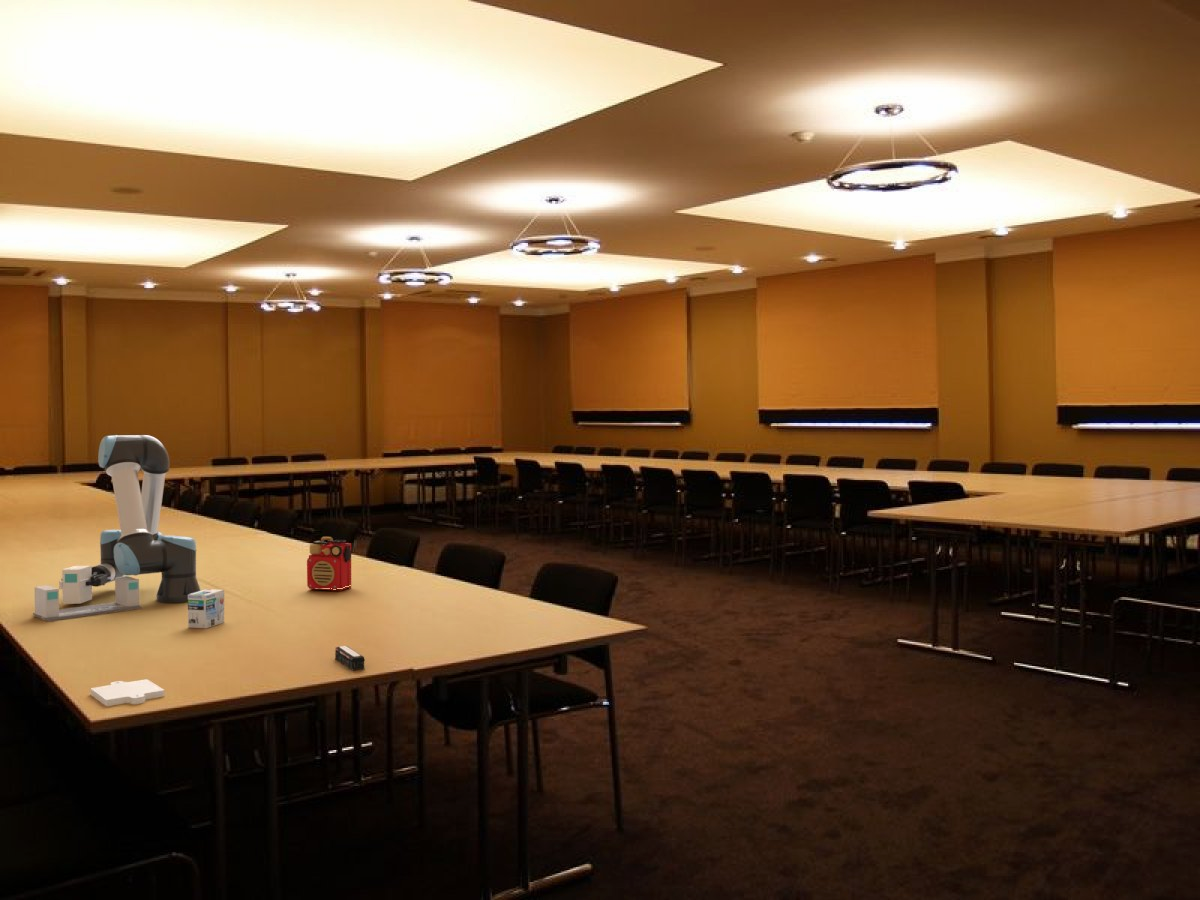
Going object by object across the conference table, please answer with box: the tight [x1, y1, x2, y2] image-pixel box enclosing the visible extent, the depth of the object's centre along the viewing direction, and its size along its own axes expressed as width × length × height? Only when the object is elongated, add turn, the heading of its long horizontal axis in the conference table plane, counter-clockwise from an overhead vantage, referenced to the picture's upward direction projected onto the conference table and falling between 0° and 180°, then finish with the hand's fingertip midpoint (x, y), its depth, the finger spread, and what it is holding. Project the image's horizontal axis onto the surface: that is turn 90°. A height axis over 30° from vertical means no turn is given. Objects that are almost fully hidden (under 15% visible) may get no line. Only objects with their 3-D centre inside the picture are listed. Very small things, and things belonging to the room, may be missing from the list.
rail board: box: [32, 601, 142, 622], centre depth 339 cm, size 30×13×1 cm, turn 138°
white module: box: [61, 565, 93, 605], centre depth 353 cm, size 6×9×12 cm, turn 3°
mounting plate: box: [89, 678, 165, 707], centre depth 239 cm, size 18×13×2 cm
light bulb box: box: [187, 588, 225, 629], centre depth 320 cm, size 11×7×11 cm, turn 168°
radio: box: [306, 536, 352, 592], centre depth 386 cm, size 16×10×20 cm, turn 76°
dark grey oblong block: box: [334, 645, 366, 672], centre depth 273 cm, size 14×25×4 cm, turn 32°
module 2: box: [114, 575, 140, 607], centre depth 349 cm, size 4×10×9 cm, turn 48°
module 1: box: [34, 584, 60, 618], centre depth 330 cm, size 4×10×9 cm, turn 48°
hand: (70, 585), depth 348 cm, fingers closed on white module, 6 cm apart
